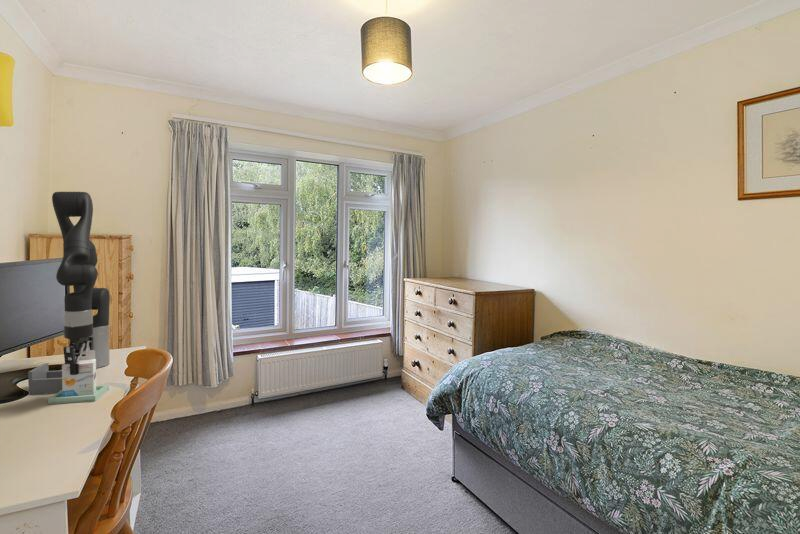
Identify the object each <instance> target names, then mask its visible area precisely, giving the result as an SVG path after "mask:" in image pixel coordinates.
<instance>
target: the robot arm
mask: <svg viewBox="0 0 800 534" xmlns="http://www.w3.org/2000/svg"><path fill="white" fill-rule="evenodd" d="M51 201H52V202H51V203H52V207H53V211H54V213H55V216H56V220H57V223H58V226H59V229H60V232H61V236H62V240H63V241H62V242H63V243H62V245H63V247H62V248H63V249H62V250H63V251H62V260H61V262H60V265H59V267H58V269H57V271H56V276H55V279H56V281H57V282H58V284H60V285H61V286H64V287H71V286H73V287H72V288H73V292H68V293H67V294H65V296H64V299H63V300H64V301H63V302H64V313H63V314H64V315H63V338H65V339H67V340H69V343H68V346H63V358H64V363H65V364H70V375H77V374H79V358H80V357H81V356H86V355H85V354H82V352H83V353H87V354H88V352H89V351H91V350H95V359H96V369H97V368H103V367H106V366H108V365H110V304H111V303H110V301H111V294H110V291H109V289H108V288H106V287H94V286H95V284H96V282H97V279H98V275H99V273H98V269H97V268H96V266H97V265H98V260H99V259H98V254H97V247H96V246H95V244H94V242H93V241H91V240H90V237H91V236H90V235H91V229H92V223H93V213H94V204H93V200H92V197H91V194H89V192H87V191H55V192H53V193H52V197H51ZM71 217H72V218H75V217H80V218H79V220H78V222H77V223H75V225H74V224H73V222H72V220H71V219H70V218H71ZM93 311H97V313H95V314H93ZM76 353H78V354H76ZM68 357H69V360H68ZM75 357H76V359H75Z"/></svg>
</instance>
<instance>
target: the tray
mask: <svg viewBox="0 0 800 534" xmlns="http://www.w3.org/2000/svg"><path fill="white" fill-rule="evenodd" d="M109 390H110V385H109V384H101V385H98V384H97V385H96V392H95V394H94V395H85V396H70V397H62V390H61V391H60V392H58V393H54V395H52V396H50V397H49V398H48V399H47V400H48V401H47V403H48V405H57V404H59V405H60V404H73V403H74V404H75V403H87V402H88V403H89V402H96V401H97V400H99V398H101V397H102V396H104V394H105V393H107V392H108V391H109Z"/></svg>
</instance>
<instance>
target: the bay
mask: <svg viewBox="0 0 800 534" xmlns="http://www.w3.org/2000/svg"><path fill="white" fill-rule="evenodd" d="M27 377H28V384H27V385H28V395H40V394H41V395H43V394H57V393H58V392H60V391H61V390H62V369H60V370H59V369H58V370H49V362H44V363H43V364H40V365H38V366H37V367H34V368H33V369H32V370H29V371H27Z"/></svg>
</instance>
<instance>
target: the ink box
mask: <svg viewBox="0 0 800 534" xmlns="http://www.w3.org/2000/svg"><path fill="white" fill-rule="evenodd" d="M76 354H78V353H76ZM82 354H85V355H86V356H81V357H80V358H79V374H77V375H70V364H65V362H64V363H63V364H62V365H61V370H62V397H70V396H85V395H94V394H95V392H96V386H97V368H96V359H95V350H91V351H89V352H88V354H87V353H83V352H82ZM75 359H76V357H75ZM68 360H69V357H68Z"/></svg>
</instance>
